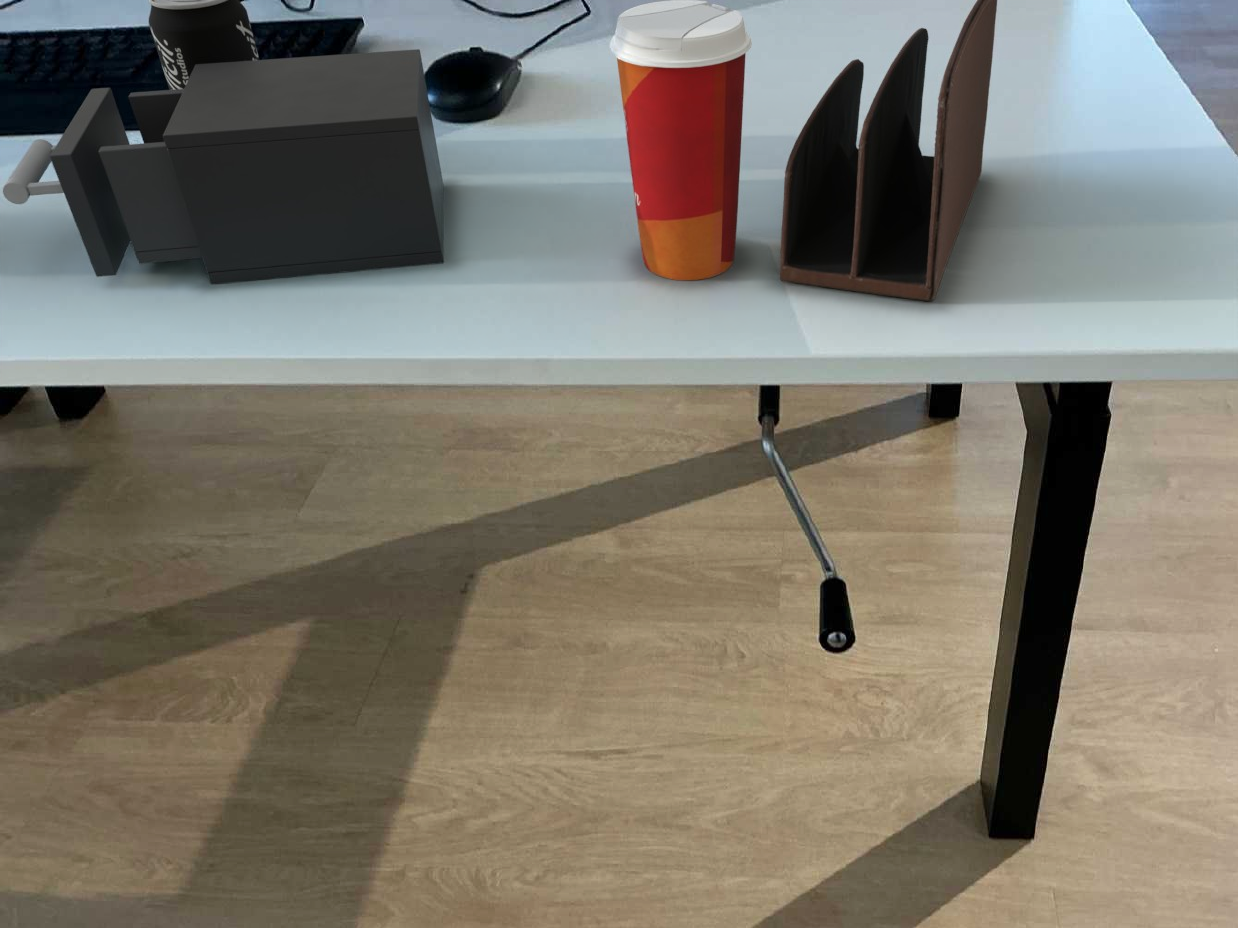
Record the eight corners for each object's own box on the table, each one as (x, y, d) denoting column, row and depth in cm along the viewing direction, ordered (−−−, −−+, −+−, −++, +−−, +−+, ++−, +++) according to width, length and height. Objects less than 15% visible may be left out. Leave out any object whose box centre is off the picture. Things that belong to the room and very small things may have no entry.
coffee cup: (692, 220, 83) (684, -12, 73) (777, 258, 78) (781, 17, 69) (598, 259, 78) (576, 18, 69) (683, 303, 74) (672, 51, 64)
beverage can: (268, 178, 89) (222, 6, 81) (180, 178, 89) (125, 7, 81) (294, 143, 94) (253, -21, 86) (211, 143, 94) (162, -21, 86)
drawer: (24, 283, 75) (-28, 161, 70) (67, 206, 83) (23, 93, 78) (318, 257, 77) (287, 137, 72) (330, 185, 86) (303, 73, 80)
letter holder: (980, 177, 88) (1007, -30, 79) (933, 305, 73) (960, 70, 64) (847, 162, 90) (858, -41, 81) (776, 284, 76) (780, 53, 66)
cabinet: (210, 284, 76) (162, 135, 70) (235, 201, 86) (195, 64, 79) (443, 263, 78) (417, 116, 72) (443, 184, 88) (419, 48, 81)
